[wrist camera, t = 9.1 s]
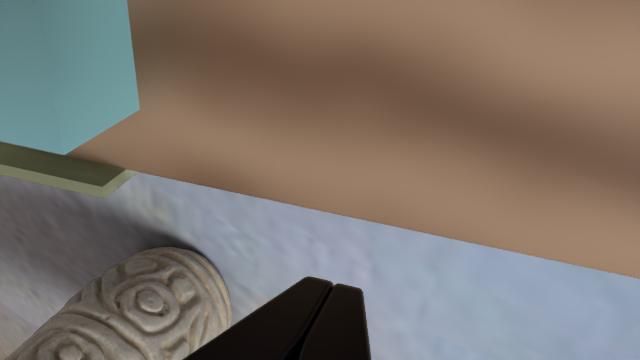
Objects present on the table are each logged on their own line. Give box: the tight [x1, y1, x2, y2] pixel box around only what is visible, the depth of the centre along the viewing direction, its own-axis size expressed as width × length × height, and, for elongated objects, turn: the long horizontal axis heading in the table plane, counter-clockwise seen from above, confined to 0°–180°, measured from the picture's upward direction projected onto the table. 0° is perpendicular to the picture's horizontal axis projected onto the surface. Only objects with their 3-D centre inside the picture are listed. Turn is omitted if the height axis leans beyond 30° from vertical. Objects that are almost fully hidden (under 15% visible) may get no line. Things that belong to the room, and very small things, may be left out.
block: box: [0, 0, 140, 155], centre depth 18 cm, size 5×6×4 cm
